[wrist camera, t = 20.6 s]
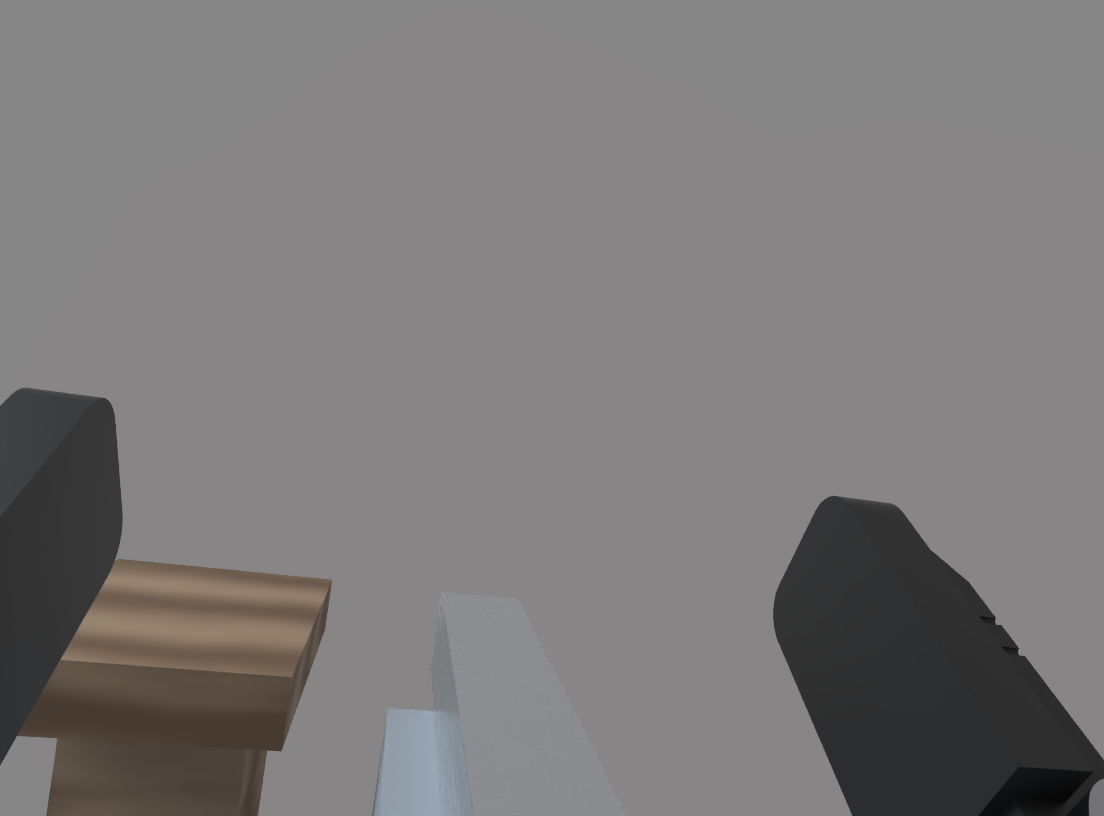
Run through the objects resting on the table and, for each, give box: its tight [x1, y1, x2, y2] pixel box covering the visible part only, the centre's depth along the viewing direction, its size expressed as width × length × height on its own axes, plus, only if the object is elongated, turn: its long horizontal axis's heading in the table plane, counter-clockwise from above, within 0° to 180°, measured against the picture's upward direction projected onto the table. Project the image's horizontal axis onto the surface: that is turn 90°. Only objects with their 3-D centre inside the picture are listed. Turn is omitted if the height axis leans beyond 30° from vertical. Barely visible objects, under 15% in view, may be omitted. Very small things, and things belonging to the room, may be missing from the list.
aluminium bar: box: [431, 592, 627, 816], centre depth 28 cm, size 26×4×4 cm, turn 10°
